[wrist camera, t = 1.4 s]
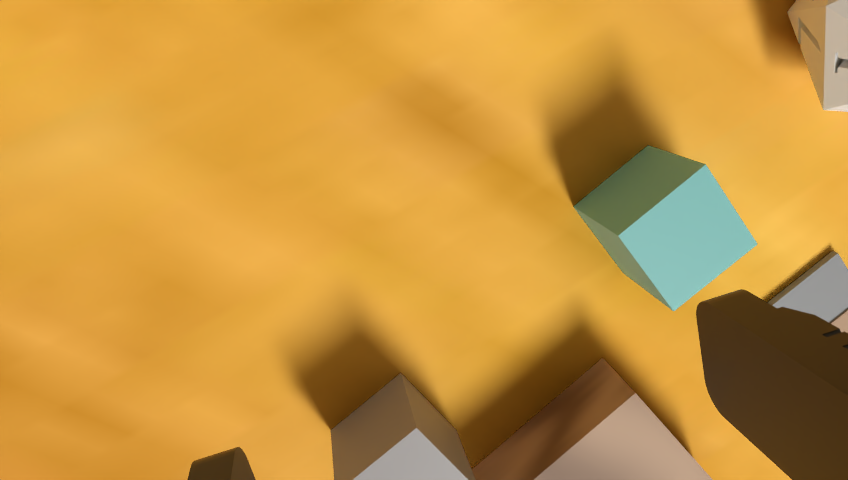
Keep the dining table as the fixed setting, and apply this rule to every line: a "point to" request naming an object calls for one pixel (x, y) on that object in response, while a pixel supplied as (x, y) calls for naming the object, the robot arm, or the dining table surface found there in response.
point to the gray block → (398, 439)
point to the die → (824, 47)
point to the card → (820, 292)
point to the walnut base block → (592, 438)
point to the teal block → (666, 224)
